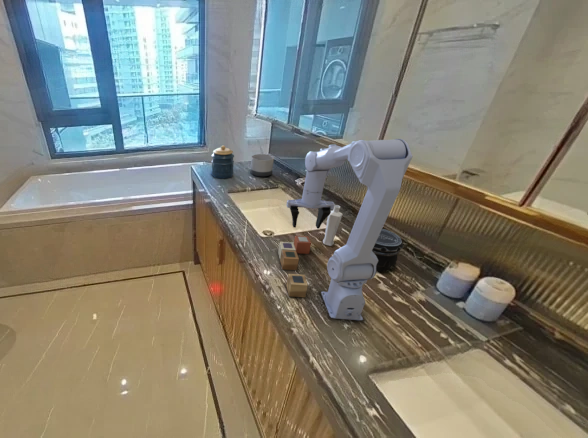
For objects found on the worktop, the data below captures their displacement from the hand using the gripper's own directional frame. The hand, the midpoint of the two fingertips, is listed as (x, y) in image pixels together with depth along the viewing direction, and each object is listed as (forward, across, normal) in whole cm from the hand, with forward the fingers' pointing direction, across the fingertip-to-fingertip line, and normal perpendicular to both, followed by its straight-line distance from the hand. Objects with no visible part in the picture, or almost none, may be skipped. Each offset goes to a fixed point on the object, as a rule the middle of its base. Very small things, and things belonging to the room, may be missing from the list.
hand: (305, 226), depth 96 cm
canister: (+10, +30, -75) cm, 82 cm away
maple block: (+9, +6, +22) cm, 24 cm away
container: (+10, -22, +5) cm, 24 cm away
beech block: (+10, +6, +10) cm, 15 cm away
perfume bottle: (+10, -11, -5) cm, 16 cm away
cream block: (+10, +6, +5) cm, 12 cm away
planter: (+10, +7, -78) cm, 79 cm away
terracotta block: (+10, 0, 0) cm, 10 cm away
